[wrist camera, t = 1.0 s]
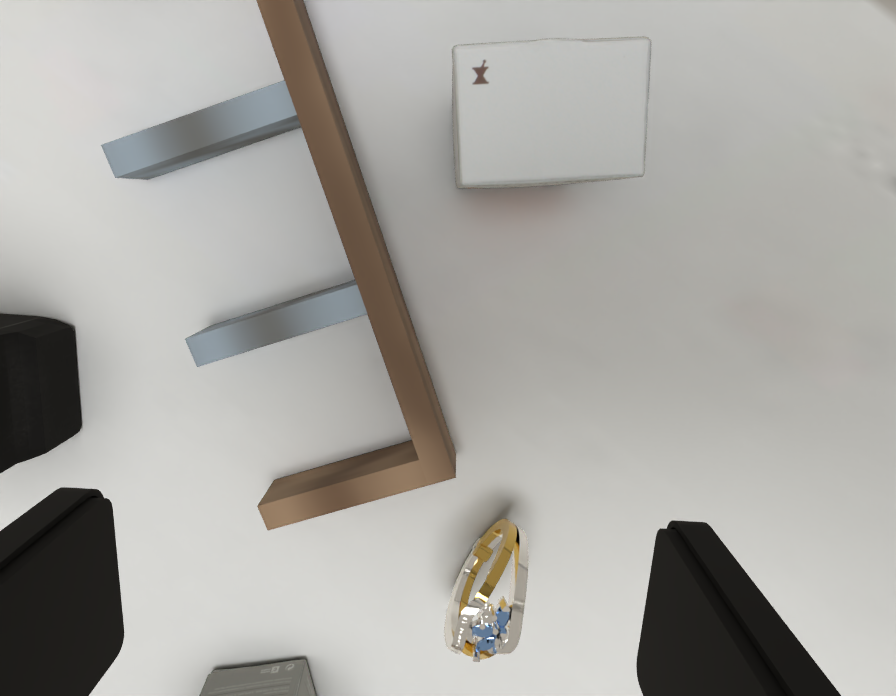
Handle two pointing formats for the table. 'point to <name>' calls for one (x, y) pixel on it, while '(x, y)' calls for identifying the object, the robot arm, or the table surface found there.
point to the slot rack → (371, 292)
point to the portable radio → (36, 387)
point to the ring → (506, 615)
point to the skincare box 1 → (261, 680)
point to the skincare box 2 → (550, 111)
